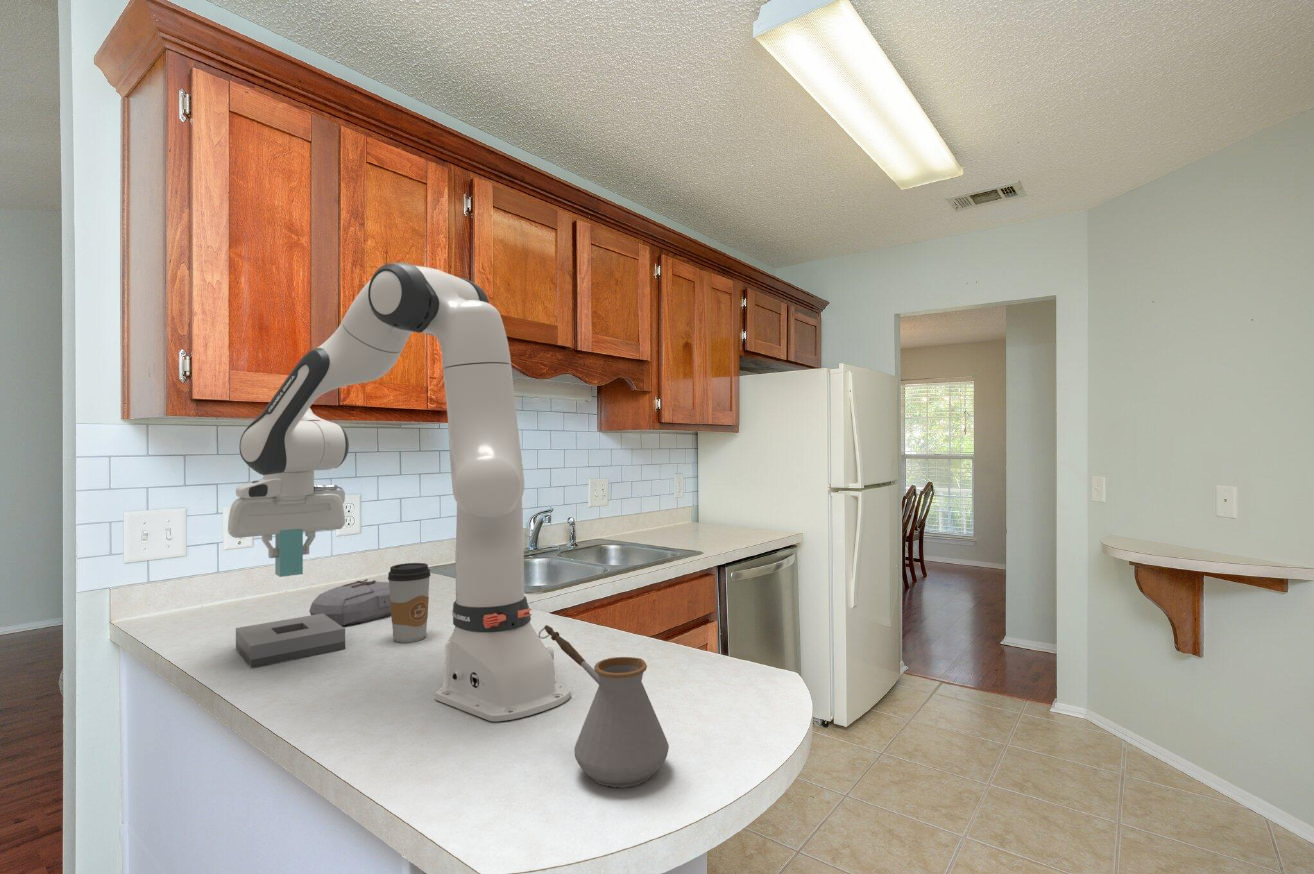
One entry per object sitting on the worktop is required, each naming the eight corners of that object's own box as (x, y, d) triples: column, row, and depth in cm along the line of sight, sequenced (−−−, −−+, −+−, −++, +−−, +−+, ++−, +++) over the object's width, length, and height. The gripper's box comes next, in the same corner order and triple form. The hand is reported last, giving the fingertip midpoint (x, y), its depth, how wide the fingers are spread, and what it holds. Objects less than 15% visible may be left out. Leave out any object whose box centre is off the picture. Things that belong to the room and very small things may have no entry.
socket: (345, 648, 128) (345, 628, 128) (251, 668, 117) (250, 646, 117) (323, 631, 140) (322, 613, 140) (235, 648, 129) (235, 628, 129)
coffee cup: (402, 647, 128) (402, 571, 128) (380, 639, 133) (379, 567, 133) (439, 636, 135) (438, 565, 135) (416, 630, 140) (416, 561, 140)
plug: (302, 574, 128) (302, 528, 128) (279, 576, 126) (279, 530, 126) (297, 571, 131) (297, 527, 131) (275, 574, 129) (275, 528, 129)
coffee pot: (688, 769, 79) (686, 646, 79) (619, 809, 70) (617, 670, 70) (577, 719, 93) (576, 615, 93) (509, 747, 85) (507, 633, 85)
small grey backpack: (372, 605, 164) (294, 624, 146) (372, 572, 164) (294, 587, 147) (412, 612, 156) (335, 633, 139) (412, 577, 156) (335, 594, 139)
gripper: (340, 483, 138) (340, 548, 138) (226, 488, 124) (226, 560, 124) (349, 484, 133) (349, 551, 133) (231, 489, 120) (231, 564, 119)
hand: (289, 556), depth 128 cm, fingers closed on plug, 4 cm apart
